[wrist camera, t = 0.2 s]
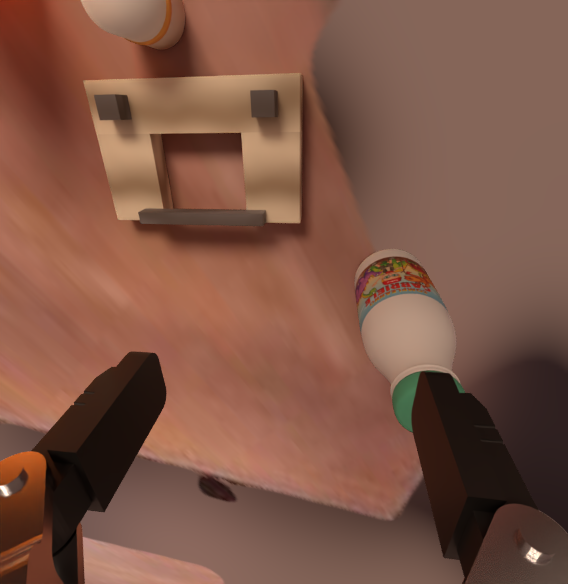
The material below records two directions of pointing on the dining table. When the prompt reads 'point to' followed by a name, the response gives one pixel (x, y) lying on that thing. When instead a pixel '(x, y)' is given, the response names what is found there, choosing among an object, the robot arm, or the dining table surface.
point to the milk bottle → (403, 325)
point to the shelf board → (201, 119)
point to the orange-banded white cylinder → (140, 20)
